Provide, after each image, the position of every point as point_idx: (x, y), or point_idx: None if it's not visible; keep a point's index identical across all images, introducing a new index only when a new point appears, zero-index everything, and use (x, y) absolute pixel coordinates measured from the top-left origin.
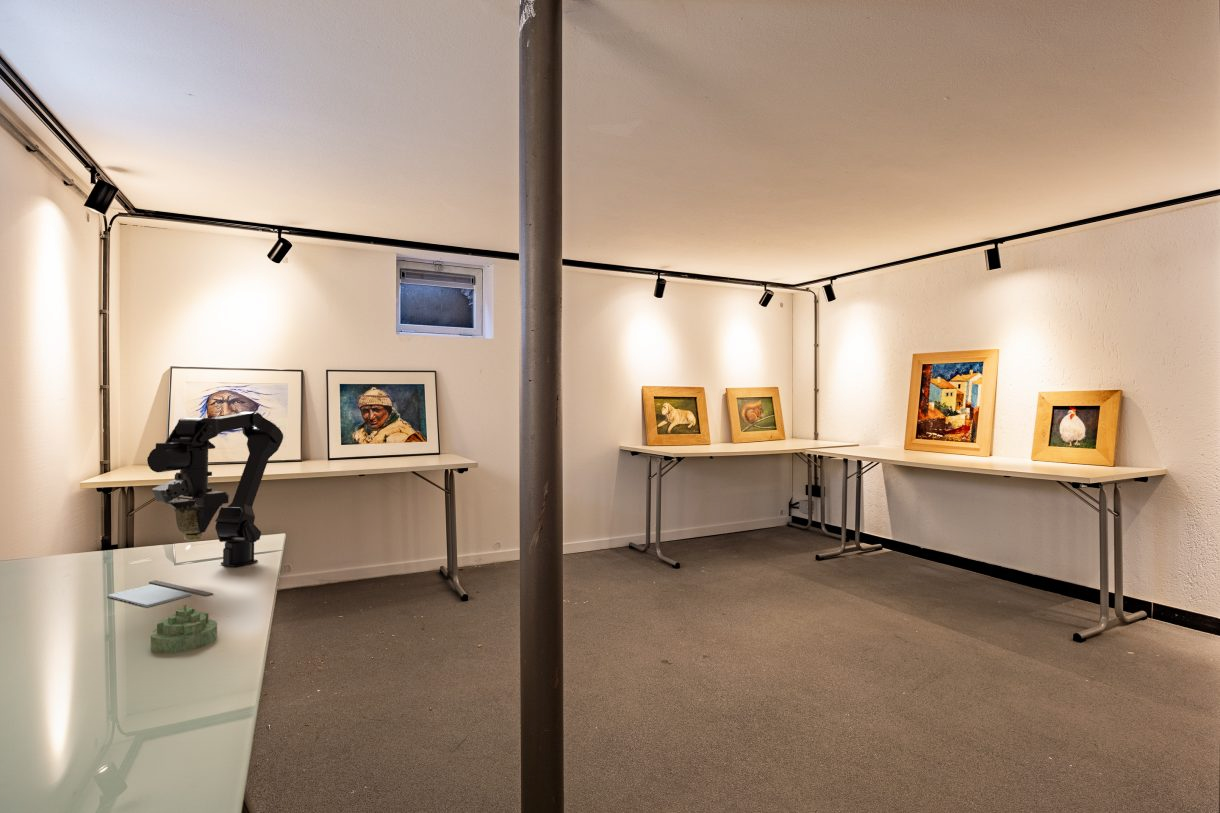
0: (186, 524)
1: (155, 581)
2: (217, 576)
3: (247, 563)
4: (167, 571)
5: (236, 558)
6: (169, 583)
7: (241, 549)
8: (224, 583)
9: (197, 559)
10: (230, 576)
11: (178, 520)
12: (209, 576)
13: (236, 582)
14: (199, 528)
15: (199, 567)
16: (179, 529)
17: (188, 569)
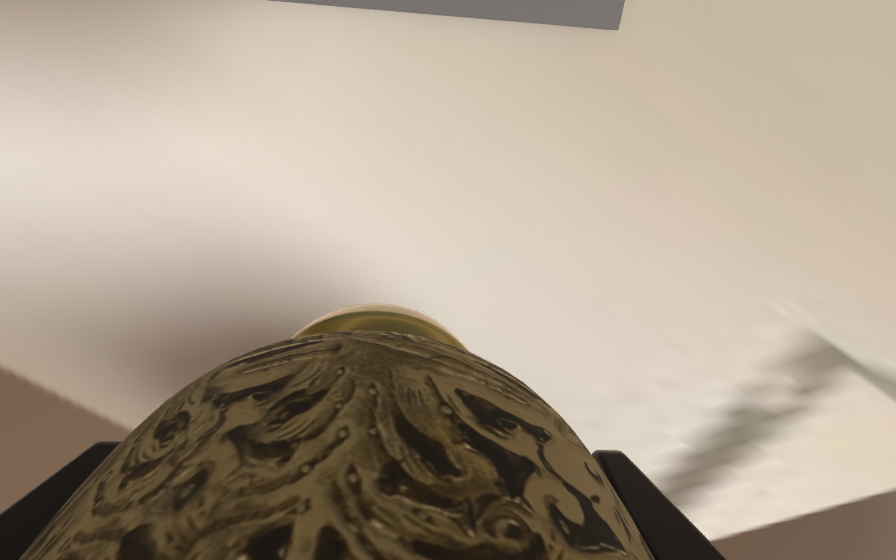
0: (123, 457)
1: (584, 2)
2: (327, 285)
3: None
4: (751, 236)
5: None
6: (421, 10)
7: None
8: (104, 201)
9: (777, 443)
10: (254, 314)
11: (352, 500)
12: (374, 266)
13: (65, 246)
14: (50, 492)
15: (625, 360)
16: (410, 344)
17: (653, 312)
